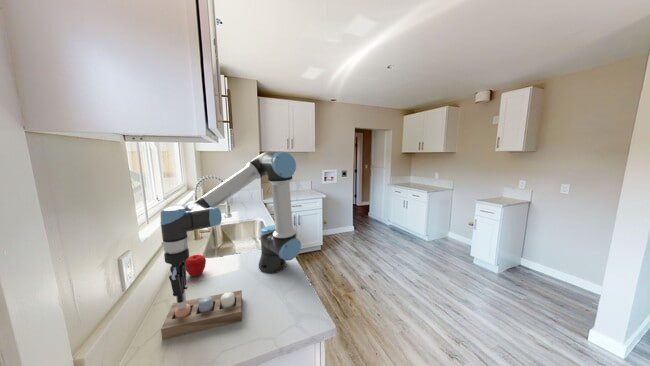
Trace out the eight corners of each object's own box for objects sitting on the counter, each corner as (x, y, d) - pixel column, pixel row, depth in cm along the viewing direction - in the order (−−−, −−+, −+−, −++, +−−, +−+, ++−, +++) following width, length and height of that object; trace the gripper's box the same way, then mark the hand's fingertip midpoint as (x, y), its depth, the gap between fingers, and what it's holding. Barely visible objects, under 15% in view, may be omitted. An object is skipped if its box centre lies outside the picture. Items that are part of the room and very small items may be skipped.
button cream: (222, 304, 93) (221, 293, 92) (235, 301, 94) (234, 291, 94) (221, 312, 88) (220, 301, 87) (234, 309, 90) (234, 298, 89)
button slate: (200, 309, 90) (199, 297, 89) (214, 306, 92) (213, 295, 91) (198, 317, 86) (197, 305, 85) (212, 314, 87) (211, 303, 86)
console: (174, 311, 91) (173, 303, 91) (241, 298, 100) (241, 290, 99) (162, 339, 78) (160, 329, 78) (241, 320, 87) (240, 311, 86)
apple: (210, 272, 120) (209, 253, 119) (193, 281, 112) (191, 261, 110) (199, 267, 125) (197, 249, 123) (181, 276, 116) (179, 256, 115)
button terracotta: (177, 316, 88) (176, 305, 87) (192, 313, 89) (191, 302, 89) (174, 326, 83) (172, 314, 82) (189, 322, 85) (188, 311, 84)
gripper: (170, 243, 87) (175, 299, 90) (157, 259, 75) (164, 322, 78) (192, 241, 89) (196, 295, 93) (183, 255, 77) (189, 317, 81)
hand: (182, 307), depth 85 cm, fingers closed
